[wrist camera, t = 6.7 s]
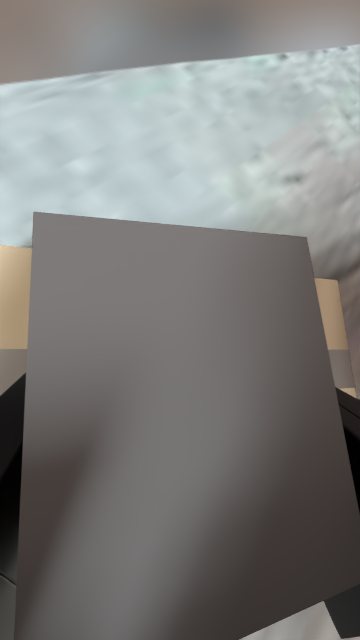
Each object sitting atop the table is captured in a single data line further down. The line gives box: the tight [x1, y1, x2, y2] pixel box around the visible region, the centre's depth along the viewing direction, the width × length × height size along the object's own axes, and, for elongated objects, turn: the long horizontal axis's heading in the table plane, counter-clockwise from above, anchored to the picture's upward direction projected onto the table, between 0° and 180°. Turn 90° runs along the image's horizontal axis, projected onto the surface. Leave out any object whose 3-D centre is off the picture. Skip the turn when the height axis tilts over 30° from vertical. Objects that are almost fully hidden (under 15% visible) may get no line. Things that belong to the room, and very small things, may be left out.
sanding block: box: [14, 212, 360, 640], centre depth 7 cm, size 6×5×8 cm
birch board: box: [0, 245, 356, 398], centre depth 13 cm, size 22×12×3 cm, turn 91°
